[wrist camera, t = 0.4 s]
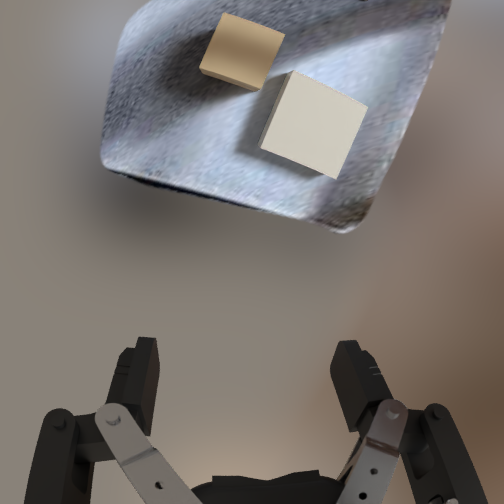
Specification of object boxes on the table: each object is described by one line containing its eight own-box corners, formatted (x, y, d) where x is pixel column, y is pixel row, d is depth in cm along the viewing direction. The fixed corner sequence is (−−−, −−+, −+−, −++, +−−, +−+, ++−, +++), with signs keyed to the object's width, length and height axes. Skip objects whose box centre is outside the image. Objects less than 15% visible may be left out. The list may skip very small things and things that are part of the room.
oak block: (223, 27, 28) (223, 12, 23) (274, 45, 29) (285, 34, 24) (202, 74, 30) (199, 67, 25) (254, 91, 32) (261, 89, 26)
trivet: (287, 72, 31) (293, 70, 28) (357, 106, 33) (368, 107, 30) (257, 144, 34) (260, 147, 31) (327, 173, 36) (336, 179, 34)
